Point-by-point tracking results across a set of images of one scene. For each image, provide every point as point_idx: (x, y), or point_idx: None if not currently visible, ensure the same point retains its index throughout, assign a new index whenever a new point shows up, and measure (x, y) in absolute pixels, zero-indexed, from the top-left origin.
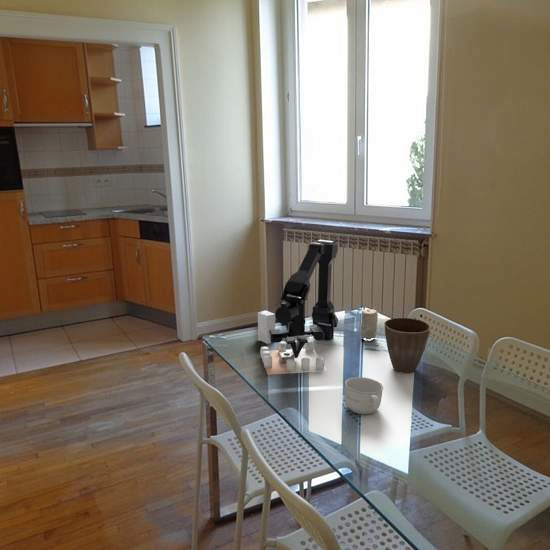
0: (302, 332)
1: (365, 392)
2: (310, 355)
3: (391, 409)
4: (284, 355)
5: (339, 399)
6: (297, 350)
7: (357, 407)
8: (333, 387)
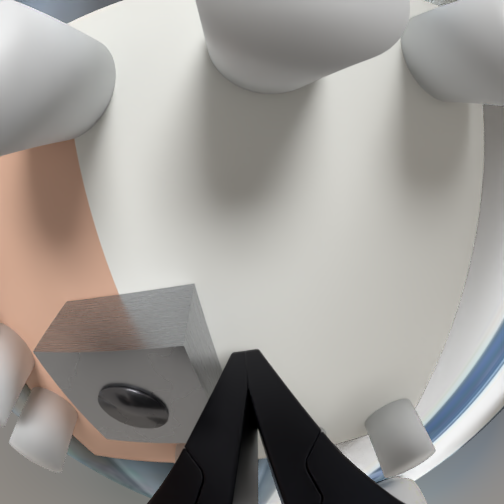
0: None
1: (407, 490)
2: (430, 205)
3: (425, 467)
4: (115, 419)
5: None
6: (273, 478)
7: None
8: (366, 463)
